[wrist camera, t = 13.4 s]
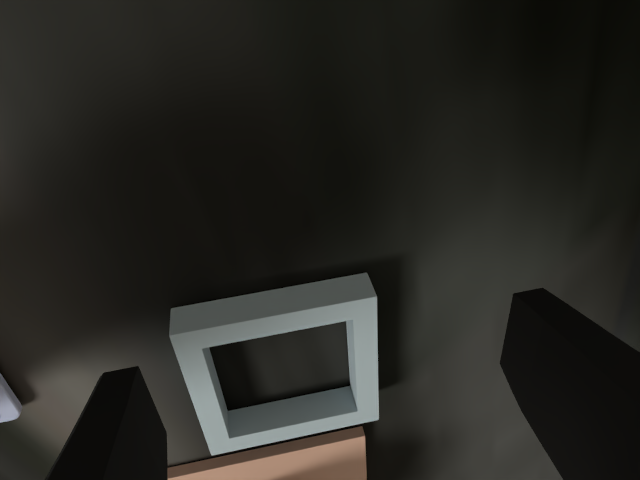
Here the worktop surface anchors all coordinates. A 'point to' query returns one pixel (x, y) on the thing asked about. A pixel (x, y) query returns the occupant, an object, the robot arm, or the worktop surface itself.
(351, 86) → the worktop surface
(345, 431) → the mat
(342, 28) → the worktop surface
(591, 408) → the robot arm
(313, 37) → the worktop surface
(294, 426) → the holder
